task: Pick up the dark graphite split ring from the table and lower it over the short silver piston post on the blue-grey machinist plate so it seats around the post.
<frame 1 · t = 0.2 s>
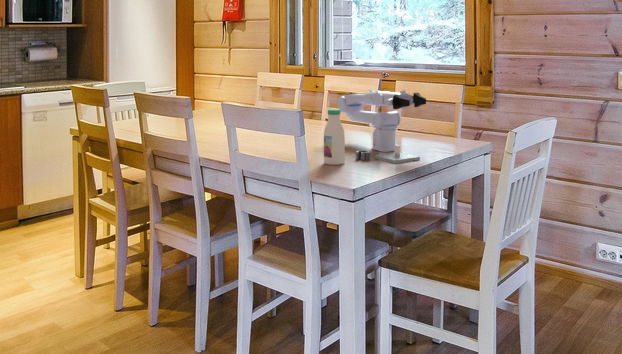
hand: (417, 102, 242), 21 cm above the table, tool horizontal, fingers open, 7 cm apart
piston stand: (397, 159, 245), on the table
milk bottle: (334, 163, 239), on the table
split ring: (362, 159, 245), on the table
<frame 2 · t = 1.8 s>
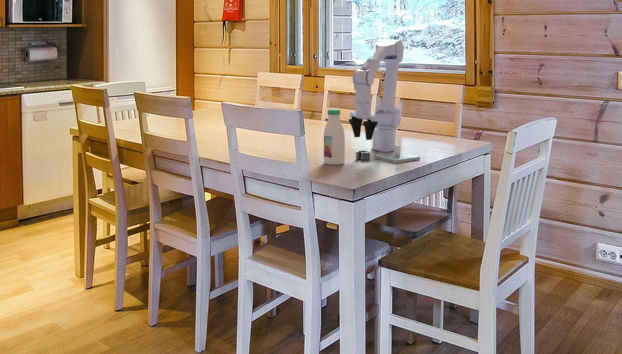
hand: (362, 138, 244), 8 cm above the table, tool pointing down, fingers open, 7 cm apart
nothing on the table moved.
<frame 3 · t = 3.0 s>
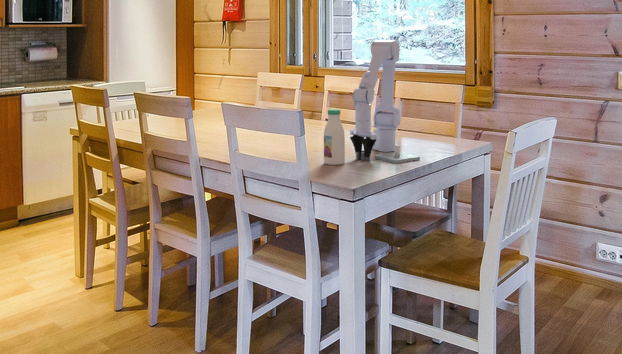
hand: (362, 155, 245), 1 cm above the table, tool pointing down, fingers closed on split ring, 5 cm apart
split ring: (362, 159, 245), on the table, touching gripper
everything else where it was.
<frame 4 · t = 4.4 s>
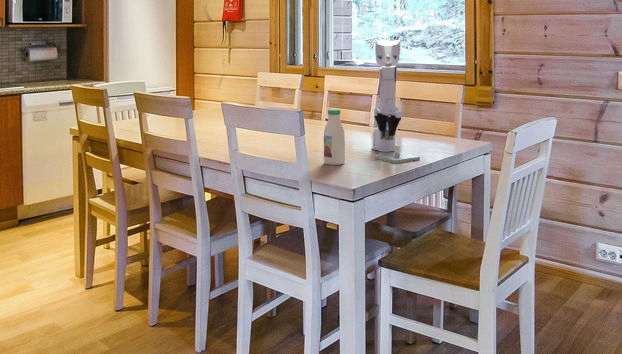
hand: (387, 134, 243), 9 cm above the table, tool pointing down, fingers closed on split ring, 5 cm apart
split ring: (386, 138, 243), point 8 cm above the table, touching gripper
everything else where it was.
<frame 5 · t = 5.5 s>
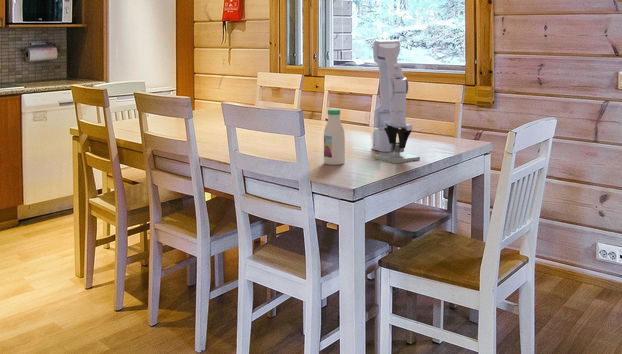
hand: (397, 147, 244), 5 cm above the table, tool pointing down, fingers closed on split ring, 5 cm apart
split ring: (396, 151, 244), point 3 cm above the table, touching gripper
everything else where it was.
when the fingers open (4 cm above the table, at t = 6.3 s): split ring stays where it is, resting on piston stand.
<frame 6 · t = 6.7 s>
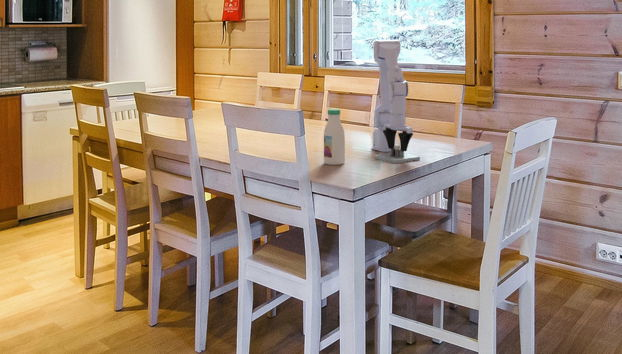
hand: (397, 149, 244), 4 cm above the table, tool pointing down, fingers open, 7 cm apart
split ring: (396, 156, 245), point 1 cm above the table, touching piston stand
everything else where it was.
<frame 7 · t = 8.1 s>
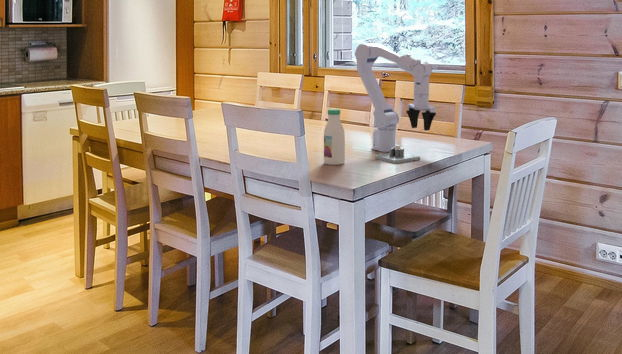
hand: (420, 129, 252), 10 cm above the table, tool pointing down, fingers open, 7 cm apart
nothing on the table moved.
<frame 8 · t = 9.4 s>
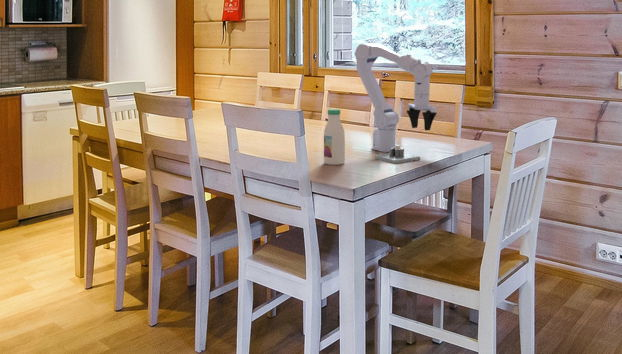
hand: (421, 128, 252), 10 cm above the table, tool pointing down, fingers open, 7 cm apart
nothing on the table moved.
at the end: split ring 0.3 cm off-centre on the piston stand, point 1.2 cm above the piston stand's base; split ring tilted 0°; the gripper is holding nothing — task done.
